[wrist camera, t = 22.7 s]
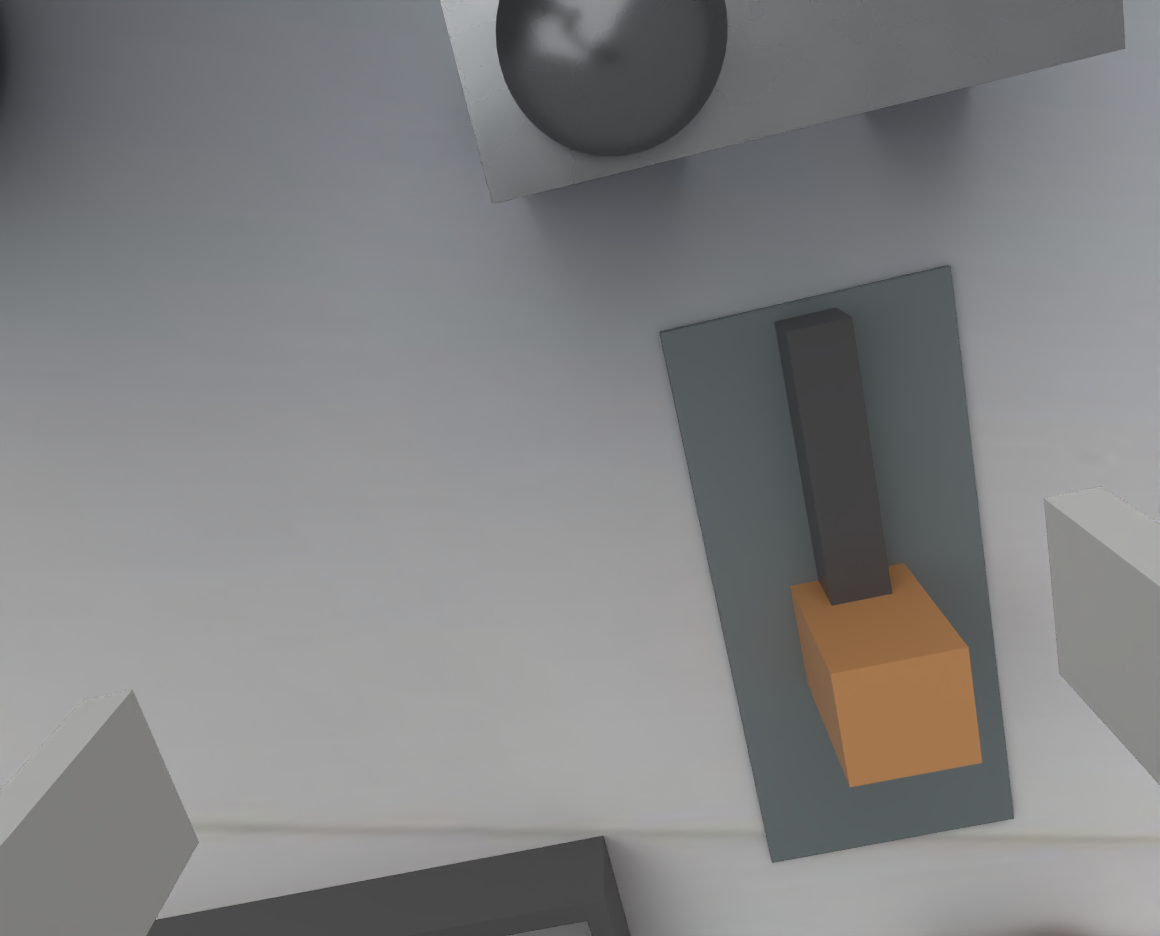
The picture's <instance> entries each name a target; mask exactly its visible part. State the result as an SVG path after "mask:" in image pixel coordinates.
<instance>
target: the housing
mask: <svg viewBox="0 0 1160 936" xmlns="http://www.w3.org/2000/svg"><path fill="white" fill-rule="evenodd" d="M440 2H441V6H442V10H443V14H444V18H445V22H446V26H447V29H448V33H449V37H450V41H451V45H452V49H453V53H454V57H455V61H456V65H457V69H458V72H459V76H460V80H461V84H462V88H463V92H464V96H465V100H466V104H467V108H468V112H469V116H470V119H471V123H472V127H473V131H474V135H475V139H476V143H477V147H478V151H479V155H480V159H481V162H482V166H483V170H484V174H485V178H486V182H487V186H488V190H489V194H490V198H491V202H492V204H496V203H500V202H504V201H508V200H512V199H516V198H520V197H524V196H528V195H532V194H536V193H541V192H545V191H549V190H553V189H557V188H561V187H565V186H569V185H573V184H577V183H581V182H585V181H589V180H593V179H597V178H601V177H605V176H610V175H614V174H618V173H622V172H626V171H630V170H634V169H638V168H642V167H646V166H650V165H654V164H658V163H662V162H666V161H670V160H674V159H678V158H683V157H687V156H691V155H695V154H699V153H703V152H707V151H711V150H715V149H719V148H723V147H727V146H731V145H735V144H739V143H743V142H747V141H751V140H756V139H760V138H764V137H768V136H772V135H776V134H780V133H784V132H788V131H792V130H796V129H800V128H804V127H808V126H812V125H816V124H820V123H825V122H829V121H833V120H837V119H841V118H845V117H849V116H853V115H857V114H861V113H865V112H869V111H873V110H877V109H881V108H885V107H889V106H893V105H898V104H902V103H906V102H910V101H914V100H918V99H922V98H926V97H930V96H934V95H938V94H942V93H946V92H950V91H954V90H958V89H962V88H966V87H971V86H975V85H979V84H983V83H987V82H991V81H995V80H999V79H1003V78H1007V77H1011V76H1015V75H1019V74H1023V73H1027V72H1031V71H1035V70H1039V69H1044V68H1048V67H1052V66H1056V65H1060V64H1064V63H1068V62H1072V61H1076V60H1080V59H1084V58H1088V57H1092V56H1096V55H1100V54H1104V53H1108V52H1113V51H1117V50H1121V49H1125V35H1124V17H1123V0H440Z"/></svg>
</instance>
